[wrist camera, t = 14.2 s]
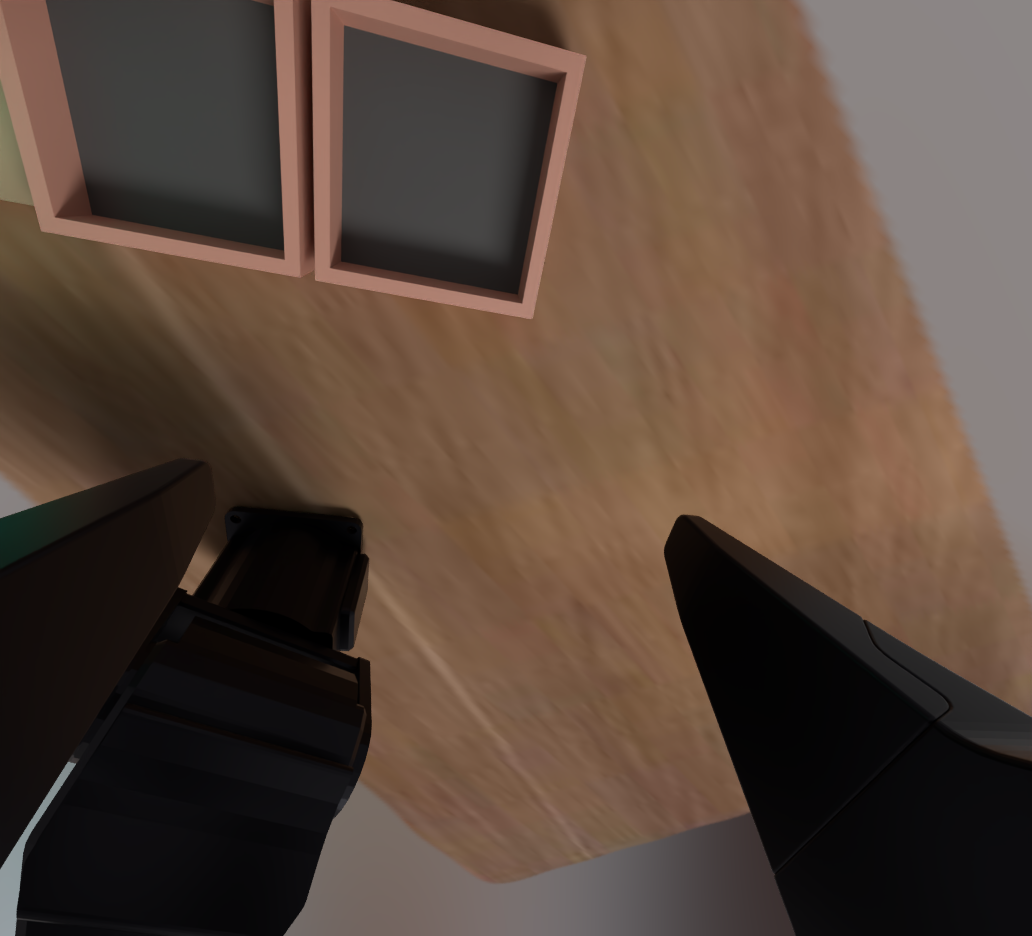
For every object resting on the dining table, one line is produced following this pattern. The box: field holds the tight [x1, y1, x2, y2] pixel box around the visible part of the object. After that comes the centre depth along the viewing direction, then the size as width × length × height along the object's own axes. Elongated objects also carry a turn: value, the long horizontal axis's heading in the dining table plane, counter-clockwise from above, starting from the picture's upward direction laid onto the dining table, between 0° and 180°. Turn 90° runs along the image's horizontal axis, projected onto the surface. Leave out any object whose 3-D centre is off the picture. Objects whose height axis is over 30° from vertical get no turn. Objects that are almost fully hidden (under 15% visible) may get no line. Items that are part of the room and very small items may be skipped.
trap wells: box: [0, 0, 587, 319], centre depth 16 cm, size 16×8×2 cm, turn 79°
